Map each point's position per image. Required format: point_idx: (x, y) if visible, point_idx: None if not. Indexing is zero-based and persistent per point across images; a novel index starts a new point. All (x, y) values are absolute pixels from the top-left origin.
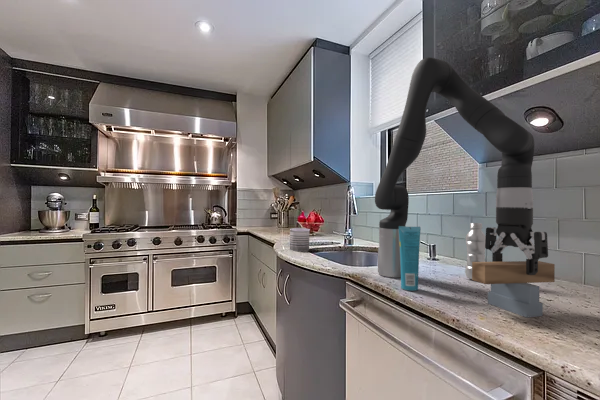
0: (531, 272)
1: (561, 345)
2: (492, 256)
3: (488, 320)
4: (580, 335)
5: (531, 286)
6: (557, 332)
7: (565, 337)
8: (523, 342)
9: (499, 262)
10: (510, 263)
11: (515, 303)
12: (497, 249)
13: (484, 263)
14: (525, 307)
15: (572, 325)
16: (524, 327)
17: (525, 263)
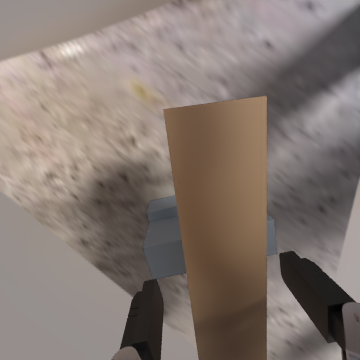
0: (140, 292)
1: (18, 158)
2: (338, 286)
3: (128, 100)
4: (71, 228)
5: (147, 256)
6: (79, 200)
7: (57, 195)
8: (15, 90)
9: (243, 251)
10: (218, 285)
11: (172, 204)
12: (344, 338)
13: (216, 145)
14: (150, 209)
15: (117, 253)
16: (96, 154)
17: (217, 343)
